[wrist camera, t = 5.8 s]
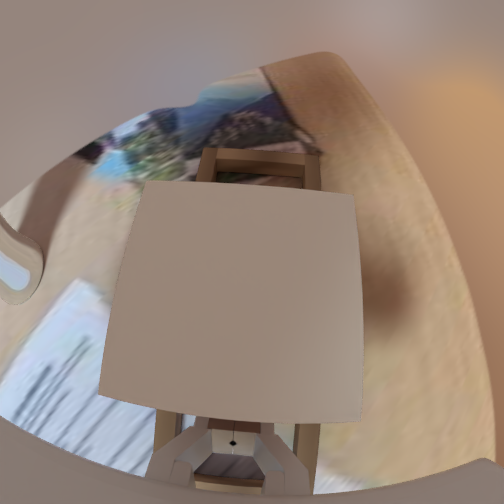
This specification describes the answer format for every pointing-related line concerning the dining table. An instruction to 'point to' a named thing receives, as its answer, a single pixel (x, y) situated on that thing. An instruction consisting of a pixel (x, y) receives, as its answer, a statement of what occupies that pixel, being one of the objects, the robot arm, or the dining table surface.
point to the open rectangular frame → (311, 180)
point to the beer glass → (18, 265)
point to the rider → (239, 305)
